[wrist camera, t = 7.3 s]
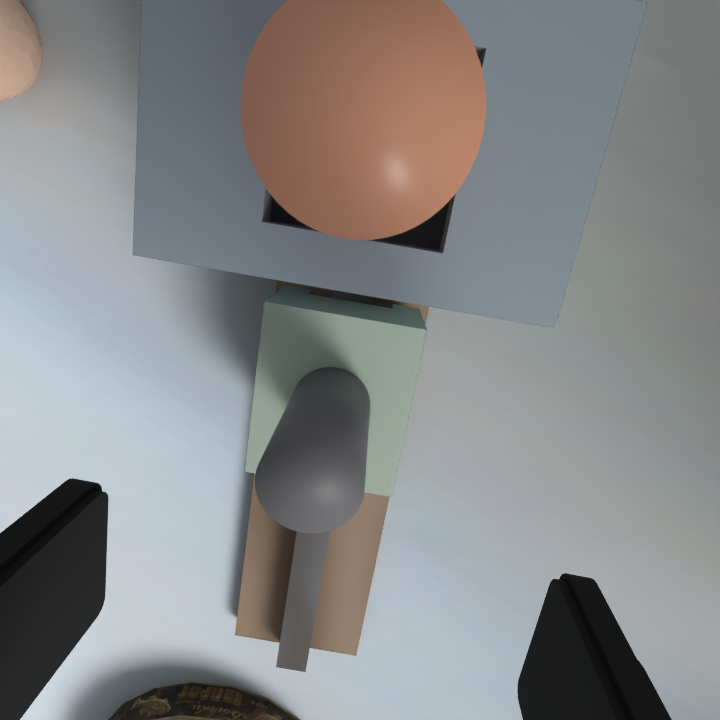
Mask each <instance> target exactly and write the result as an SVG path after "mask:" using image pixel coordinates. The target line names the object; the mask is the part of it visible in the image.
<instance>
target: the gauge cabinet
mask: <svg viewBox="0 0 720 720" xmlns="http://www.w3.org/2000/svg"><path fill="white" fill-rule="evenodd" d="M286 1H287V0H142V15H141V42H140V69H139V95H138V122H137V149H136V175H135V202H134V229H133V255H135V256H141V257H147V258H153V259H158V260H164V261H170V262H176V263H181V264H187V265H193V266H199V267H204V268H210V269H216V270H222V271H227V272H233V273H239V274H245V275H250V276H256V277H262V278H268V279H273V280H279V281H285V282H291V283H296V284H302V285H308V286H314V287H319V288H325V289H331V290H337V291H342V292H348V293H354V294H360V295H365V296H371V297H377V298H383V299H388V300H394V301H400V302H406V303H411V304H417V305H423V306H429V307H434V308H440V309H446V310H452V311H457V312H463V313H469V314H475V315H480V316H486V317H492V318H498V319H503V320H509V321H515V322H521V323H526V324H532V325H538V326H544V327H549V328H555V325H556V322H557V318H558V315H559V311H560V308H561V304H562V301H563V297H564V294H565V290H566V287H567V283H568V279H569V276H570V272H571V269H572V265H573V262H574V258H575V255H576V251H577V248H578V244H579V241H580V237H581V234H582V230H583V227H584V223H585V220H586V216H587V213H588V209H589V206H590V202H591V199H592V195H593V192H594V188H595V185H596V181H597V178H598V174H599V171H600V167H601V164H602V160H603V157H604V153H605V150H606V146H607V143H608V139H609V136H610V132H611V129H612V125H613V122H614V118H615V114H616V111H617V107H618V104H619V100H620V97H621V93H622V90H623V86H624V83H625V79H626V76H627V72H628V69H629V65H630V62H631V58H632V55H633V51H634V48H635V44H636V41H637V37H638V34H639V30H640V27H641V23H642V20H643V16H644V13H645V9H646V6H647V3H646V2H641V1H635V0H441V1H442V2H444V3H445V4H446V5H447V6H448V7H449V9H450V10H451V11H452V12H453V13H454V14H455V15H456V16H457V18H458V19H459V21H460V22H461V24H462V25H463V27H464V28H465V29H466V31H467V33H468V35H469V37H470V39H471V41H472V43H473V45H474V47H475V49H476V52H477V55H478V58H479V61H480V63H481V67H482V72H483V77H484V81H485V92H486V119H485V126H484V132H483V137H482V141H481V144H480V148H479V151H478V154H477V157H476V159H475V161H474V164H473V166H472V168H471V170H470V172H469V174H468V176H467V177H466V179H465V181H464V183H463V184H462V185H461V187H460V188H459V189H458V191H457V192H456V194H455V195H454V196H453V197H452V198H451V199H450V200H449V201H448V203H447V204H446V205H445V206H444V207H443V208H442V209H440V210H439V211H438V212H437V213H436V214H434V215H433V216H432V217H431V218H429V219H428V220H426V221H425V222H423V223H421V224H420V225H418V226H416V227H414V228H412V229H410V230H408V231H405V232H403V233H400V234H397V235H394V236H391V237H387V238H381V239H375V240H351V239H343V238H339V237H334V236H330V235H327V234H324V233H322V232H319V231H317V230H314V229H312V228H311V227H309V226H307V225H305V224H303V223H302V222H300V221H299V220H297V219H296V218H295V217H293V216H292V215H290V214H289V213H288V212H287V211H286V210H285V209H284V208H283V207H282V206H280V205H279V204H278V203H277V202H276V200H275V199H274V198H273V197H272V196H271V194H270V193H269V192H268V191H267V189H266V188H265V186H264V185H263V183H262V181H261V180H260V178H259V177H258V175H257V173H256V171H255V169H254V166H253V164H252V162H251V160H250V157H249V154H248V151H247V148H246V145H245V140H244V135H243V131H242V123H241V111H240V109H241V90H242V83H243V77H244V73H245V69H246V65H247V62H248V58H249V56H250V53H251V51H252V49H253V46H254V44H255V42H256V40H257V38H258V36H259V35H260V33H261V31H262V29H263V28H264V26H265V25H266V23H267V22H268V21H269V20H270V18H271V17H272V16H273V14H274V13H275V12H276V11H277V10H278V9H279V8H280V7H281V6H282V5H283V4H284V3H285V2H286Z"/></svg>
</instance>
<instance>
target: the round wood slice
mask: <svg viewBox="0 0 720 720" xmlns="http://www.w3.org/2000/svg"><path fill="white" fill-rule="evenodd" d="M109 720H300V719H298V718H297V717H295V716H294V715H292V714H291V713H289V712H288V711H286V710H285V709H283V708H282V707H280V706H279V705H277V704H276V703H274V702H273V701H271V700H270V699H267V698H264V697H262V696H259V695H256V694H253V693H250V692H247V691H244V690H241V689H239V688H236V687H233V686H225V685H215V684H204V683H193V682H191V683H185V684H178V685H172V686H166V687H160V688H154V689H152V690H150V691H148V692H146V693H144V694H142V695H140V696H138V697H136V698H134V699H132V700H130V701H128V702H126V703H124V704H123V705H122V706H121V707H120V708H119V709H118V710H117V711H116V712H115V714H114V715H113V716H112V717H111V718H110V719H109Z"/></svg>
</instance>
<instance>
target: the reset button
mask: <svg viewBox="0 0 720 720" xmlns="http://www.w3.org/2000/svg"><path fill="white" fill-rule="evenodd" d="M240 111H241V123H242V131H243V135H244V140H245V145H246V148H247V151H248V154H249V157H250V160H251V162H252V164H253V166H254V169H255V171H256V173H257V175H258V177H259V178H260V180H261V181H262V183H263V185H264V186H265V188H266V189H267V191H268V192H269V193H270V194H271V196H272V197H273V198H274V199H275V200H276V202H277V203H278V204H279V205H280V206H282V207H283V208H284V209H285V210H286V211H287V212H288V213H289V214H290V215H292V216H293V217H295V218H296V219H297V220H299V221H300V222H302V223H303V224H305V225H307V226H309V227H311V228H312V229H314V230H317V231H319V232H322V233H324V234H327V235H330V236H334V237H339V238H343V239H351V240H375V239H381V238H387V237H391V236H394V235H397V234H400V233H403V232H405V231H408V230H410V229H412V228H414V227H416V226H418V225H420V224H421V223H423V222H425V221H426V220H428V219H429V218H431V217H432V216H433V215H434V214H436V213H437V212H438V211H439V210H440V209H442V208H443V207H444V206H445V205H446V204H447V203H448V201H449V200H450V199H451V198H452V197H453V196H454V195H455V194H456V192H457V191H458V189H459V188H460V187H461V185H462V184H463V183H464V181H465V179H466V177H467V176H468V174H469V172H470V170H471V168H472V166H473V164H474V161H475V159H476V157H477V154H478V151H479V148H480V144H481V141H482V137H483V132H484V126H485V119H486V92H485V81H484V77H483V72H482V67H481V63H480V61H479V58H478V55H477V52H476V49H475V47H474V45H473V43H472V41H471V39H470V37H469V35H468V33H467V31H466V29H465V28H464V27H463V25H462V24H461V22H460V21H459V19H458V18H457V16H456V15H455V14H454V13H453V12H452V11H451V10H450V9H449V7H448V6H447V5H446V4H445V3H444V2H442V1H441V0H287V1H286V2H285V3H284V4H283V5H282V6H281V7H280V8H279V9H278V10H277V11H276V12H275V13H274V14H273V16H272V17H271V18H270V20H269V21H268V22H267V23H266V25H265V26H264V28H263V29H262V31H261V33H260V35H259V36H258V38H257V40H256V42H255V44H254V46H253V49H252V51H251V53H250V56H249V58H248V62H247V65H246V69H245V73H244V77H243V83H242V90H241V109H240Z"/></svg>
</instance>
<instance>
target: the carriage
mask: <svg viewBox="0 0 720 720" xmlns="http://www.w3.org/2000/svg"><path fill="white" fill-rule="evenodd" d="M311 292H312V290H310V289H304V288H298V287H293V286H287V285H284V286H283V287H282V288H281V289H279V290H278V291H277V292H276V293H274V294H273V295H272V296H271V297H269V298H268V299H267V300H266V301H264V307H263V315H262V324H261V333H260V342H259V350H258V359H257V368H256V377H255V386H254V394H253V403H252V412H251V421H250V429H249V438H248V447H247V456H246V465H245V472H249V473H255V490H256V494H257V497H258V500H259V502H260V504H261V505H262V507H263V509H264V510H265V511H266V513H267V514H268V515H269V516H270V517H271V518H272V519H274V520H275V521H276V522H278V523H279V524H281V525H282V526H284V527H286V528H288V529H291V530H294V531H298V532H302V533H323V532H328V531H331V530H334V529H336V528H338V527H340V526H342V525H344V524H345V523H346V522H348V521H349V520H350V519H351V518H352V517H353V516H354V515H355V514H356V512H357V511H358V509H359V508H360V505H361V503H362V501H363V497H364V492H366V493H371V494H377V495H383V496H389V497H392V494H393V489H394V484H395V479H396V475H397V470H398V465H399V460H400V456H401V451H402V446H403V441H404V437H405V432H406V427H407V422H408V418H409V413H410V408H411V403H412V399H413V394H414V389H415V384H416V380H417V375H418V370H419V365H420V361H421V356H422V351H423V346H424V342H425V337H426V332H427V329H426V326H425V323H424V320H423V317H422V314H421V311H420V309H419V308H413V307H408V306H402V305H396V304H393V305H392V308H386V307H381V306H375V305H369V304H363V303H358V302H352V301H346V300H340V299H335V298H329V297H323V296H317V295H312V294H311Z"/></svg>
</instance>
